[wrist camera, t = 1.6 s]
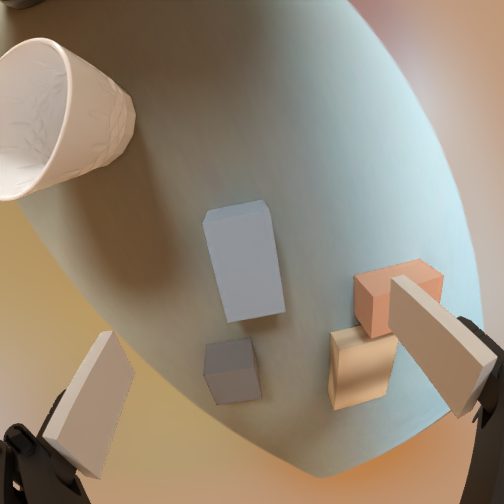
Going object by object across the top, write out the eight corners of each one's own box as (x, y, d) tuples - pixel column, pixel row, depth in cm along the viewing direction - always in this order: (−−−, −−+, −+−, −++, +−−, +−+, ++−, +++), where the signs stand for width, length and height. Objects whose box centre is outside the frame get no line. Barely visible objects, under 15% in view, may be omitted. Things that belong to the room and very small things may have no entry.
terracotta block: (353, 313, 24) (371, 338, 20) (353, 274, 23) (373, 296, 19) (415, 294, 24) (437, 315, 20) (418, 257, 23) (443, 275, 19)
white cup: (165, 117, 17) (106, 89, 8) (97, 197, 19) (14, 235, 9) (102, 58, 15) (27, 16, 6) (42, 136, 16) (-46, 142, 7)
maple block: (329, 330, 25) (339, 350, 22) (385, 316, 25) (399, 333, 22) (327, 391, 28) (334, 410, 25) (375, 378, 28) (385, 395, 25)
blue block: (207, 209, 20) (202, 223, 16) (262, 199, 20) (269, 210, 16) (228, 294, 22) (227, 322, 19) (277, 285, 22) (285, 311, 19)
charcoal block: (206, 343, 24) (203, 374, 20) (250, 336, 24) (253, 367, 20) (217, 374, 25) (216, 404, 22) (258, 368, 25) (262, 398, 22)
